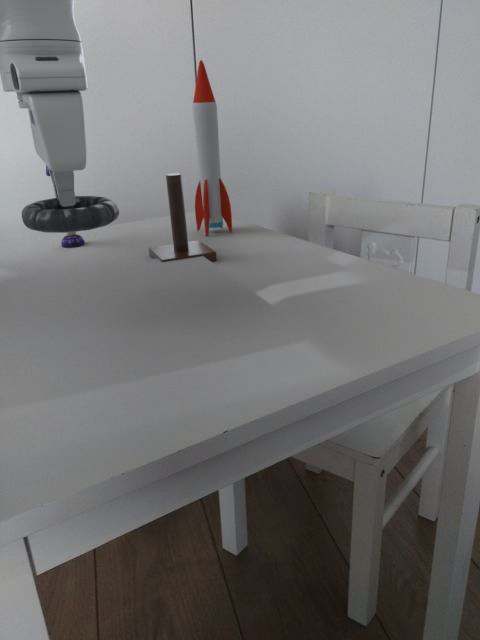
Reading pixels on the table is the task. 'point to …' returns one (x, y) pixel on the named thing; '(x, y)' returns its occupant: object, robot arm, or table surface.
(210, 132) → the toy rocket
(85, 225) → the ring
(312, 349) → the table surface
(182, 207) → the stand
